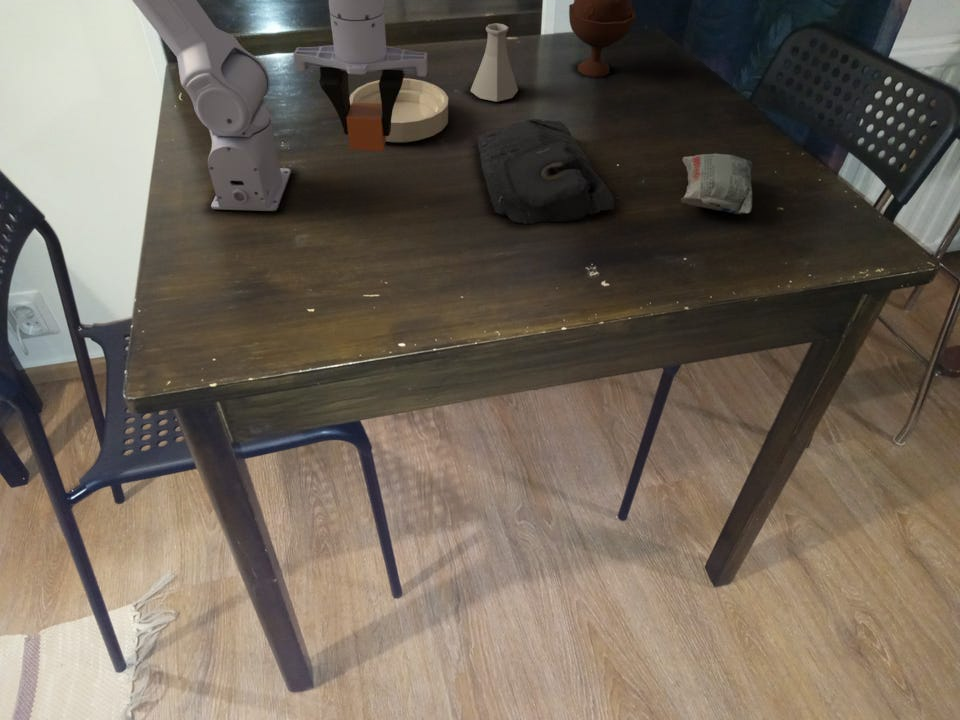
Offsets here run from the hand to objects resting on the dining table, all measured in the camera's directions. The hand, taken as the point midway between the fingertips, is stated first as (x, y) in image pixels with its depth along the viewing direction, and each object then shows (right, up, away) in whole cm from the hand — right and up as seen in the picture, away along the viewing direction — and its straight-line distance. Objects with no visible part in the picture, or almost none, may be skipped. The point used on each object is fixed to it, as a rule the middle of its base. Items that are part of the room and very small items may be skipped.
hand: (367, 131), depth 83 cm
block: (0, -1, +1) cm, 1 cm away
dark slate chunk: (+22, -3, +10) cm, 24 cm away
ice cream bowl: (+33, +22, +35) cm, 53 cm away
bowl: (+2, +8, +20) cm, 21 cm away
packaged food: (+43, -6, +8) cm, 45 cm away
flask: (+16, +15, +28) cm, 35 cm away
